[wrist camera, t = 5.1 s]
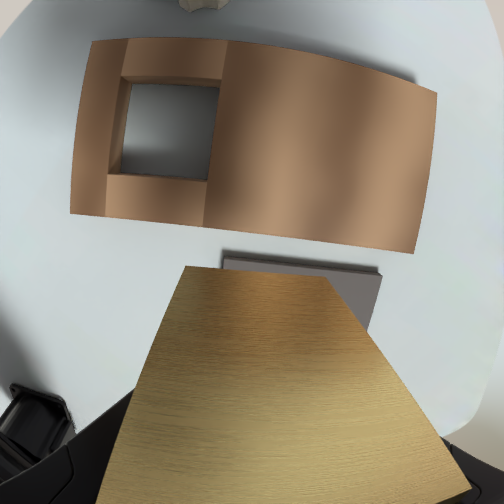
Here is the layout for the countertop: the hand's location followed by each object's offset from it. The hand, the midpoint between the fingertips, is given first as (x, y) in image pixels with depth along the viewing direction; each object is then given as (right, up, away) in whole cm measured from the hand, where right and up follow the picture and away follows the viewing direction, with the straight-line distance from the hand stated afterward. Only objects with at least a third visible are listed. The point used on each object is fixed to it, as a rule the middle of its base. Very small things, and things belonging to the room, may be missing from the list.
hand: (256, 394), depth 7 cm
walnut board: (0, +10, +9) cm, 14 cm away
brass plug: (0, +1, +3) cm, 3 cm away
